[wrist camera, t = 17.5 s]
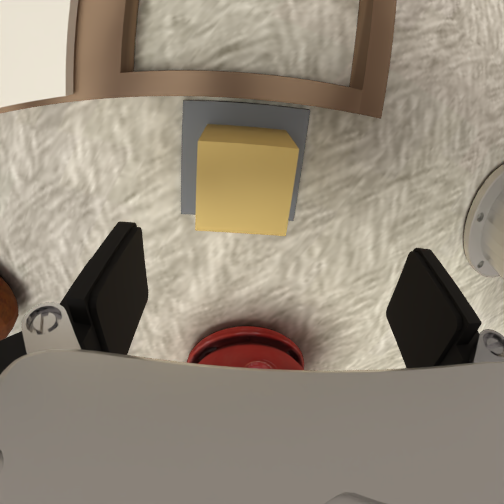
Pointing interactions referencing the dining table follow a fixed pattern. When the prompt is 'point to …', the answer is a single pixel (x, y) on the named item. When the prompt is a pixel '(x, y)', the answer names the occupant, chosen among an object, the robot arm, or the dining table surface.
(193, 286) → the dining table surface
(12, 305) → the potato
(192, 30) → the dining table surface
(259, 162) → the block
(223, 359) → the plant pot
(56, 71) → the lid
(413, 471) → the robot arm
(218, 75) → the brown box
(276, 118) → the mat
